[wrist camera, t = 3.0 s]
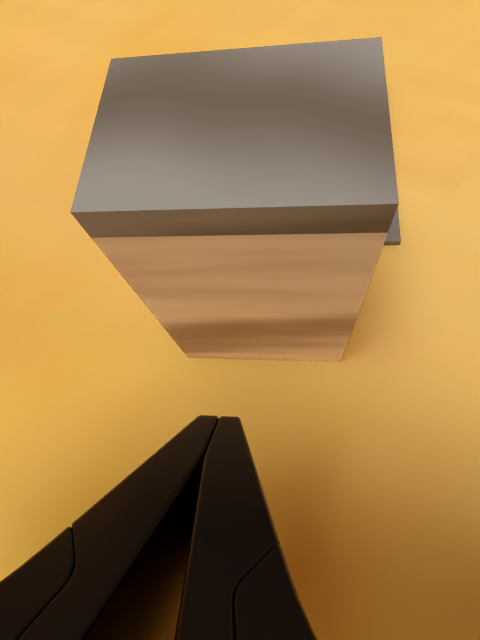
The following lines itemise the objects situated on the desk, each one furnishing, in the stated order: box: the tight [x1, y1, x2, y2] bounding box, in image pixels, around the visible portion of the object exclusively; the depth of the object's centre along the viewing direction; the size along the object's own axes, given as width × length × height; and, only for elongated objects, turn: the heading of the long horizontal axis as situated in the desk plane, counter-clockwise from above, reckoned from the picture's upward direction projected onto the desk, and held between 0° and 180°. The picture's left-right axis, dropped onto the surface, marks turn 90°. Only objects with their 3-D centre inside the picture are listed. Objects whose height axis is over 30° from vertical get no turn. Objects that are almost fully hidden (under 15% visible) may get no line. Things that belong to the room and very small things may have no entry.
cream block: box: [71, 37, 399, 362], centre depth 15 cm, size 5×7×11 cm
